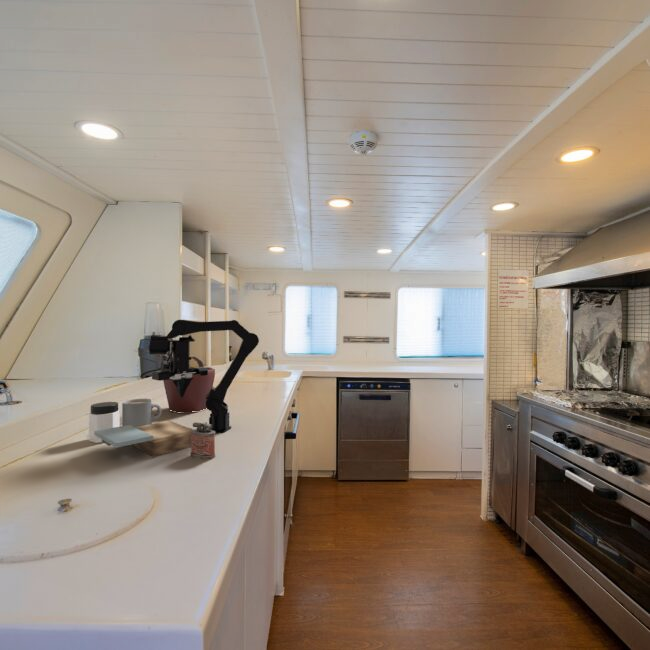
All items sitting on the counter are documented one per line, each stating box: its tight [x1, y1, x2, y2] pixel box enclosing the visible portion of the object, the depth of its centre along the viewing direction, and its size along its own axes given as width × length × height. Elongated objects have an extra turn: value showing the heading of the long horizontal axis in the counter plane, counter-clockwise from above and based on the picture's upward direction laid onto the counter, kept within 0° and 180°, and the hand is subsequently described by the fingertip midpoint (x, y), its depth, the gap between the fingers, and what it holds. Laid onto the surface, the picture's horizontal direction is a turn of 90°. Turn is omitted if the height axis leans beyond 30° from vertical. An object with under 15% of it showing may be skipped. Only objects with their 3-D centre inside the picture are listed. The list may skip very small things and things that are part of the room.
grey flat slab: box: [94, 425, 153, 448], centre depth 107 cm, size 2×18×10 cm
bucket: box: [162, 355, 216, 412], centre depth 166 cm, size 24×22×25 cm
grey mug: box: [121, 398, 162, 427], centre depth 137 cm, size 13×10×10 cm
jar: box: [88, 401, 121, 444], centre depth 121 cm, size 9×8×12 cm
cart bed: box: [131, 420, 195, 457], centre depth 115 cm, size 13×18×5 cm
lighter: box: [190, 421, 216, 460], centre depth 105 cm, size 8×3×10 cm, turn 71°
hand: (181, 397), depth 128 cm, fingers closed
